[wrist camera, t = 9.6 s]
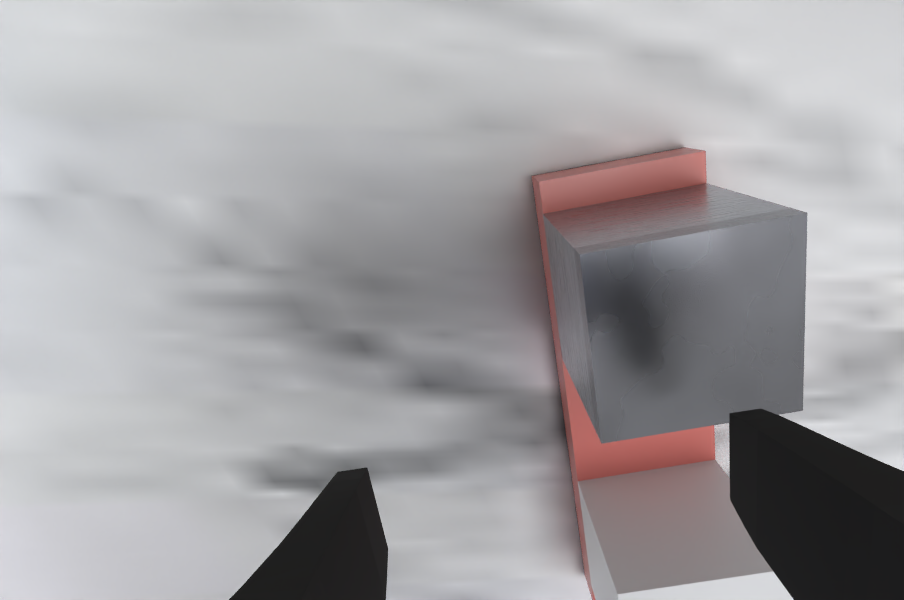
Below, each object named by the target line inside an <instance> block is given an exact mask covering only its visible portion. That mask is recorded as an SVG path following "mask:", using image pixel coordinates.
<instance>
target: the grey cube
mask: <svg viewBox="0 0 904 600" xmlns="http://www.w3.org/2000/svg"><path fill="white" fill-rule="evenodd" d="M543 220H544V228H545V235H546V242H547V250H548V257H549V265H550V272H551V279H552V287H553V294H554V302H555V309H556V317H557V324H558V331H559V339H560V346H561V354H562V360H563V362H564V364H565V366H566V368H567V370H568V373H569V375H570V377H571V379H572V381H573V383H574V386H575V388H576V390H577V392H578V394H579V396H580V398H581V401H582V403H583V405H584V407H585V409H586V411H587V414H588V416H589V418H590V420H591V422H592V424H593V427H594V429H595V431H596V433H597V435H598V437H599V440H600V442H601V444H603V443H609V442H615V441H621V440H627V439H633V438H639V437H645V436H651V435H658V434H664V433H670V432H676V431H682V430H688V429H694V428H700V427H706V426H712V425H718V424H724V423H729V413H734V412H741V411H747V410H754V409H760V408H761V409H764V410H767V411H769V412H772V413H774V414H777V415H779V414H785V413H791V412H797V411H803V377H804V333H805V289H806V245H807V213H806V212H803V211H799V210H796V209H793V208H789V207H786V206H782V205H779V204H775V203H772V202H768V201H765V200H762V199H758V198H755V197H751V196H748V195H744V194H741V193H737V192H734V191H731V190H727V189H724V188H720V187H717V186H713V185H710V184H707V183H705V184H700V185H694V186H689V187H684V188H678V189H673V190H668V191H662V192H657V193H652V194H646V195H641V196H636V197H630V198H625V199H620V200H614V201H609V202H604V203H598V204H593V205H588V206H582V207H577V208H572V209H566V210H561V211H556V212H550V213H545V214H543Z"/></svg>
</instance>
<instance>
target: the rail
mask: <svg viewBox="0 0 904 600" xmlns="http://www.w3.org/2000/svg"><path fill="white" fill-rule="evenodd" d="M532 181H533V189H534V196H535V204H536V211H537V219H538V226H539V234H540V241H541V249H542V256H543V264H544V272H545V279H546V287H547V294H548V302H549V309H550V317H551V324H552V332H553V339H554V347H555V354H556V362H557V369H558V377H559V384H560V392H561V399H562V407H563V414H564V422H565V429H566V437H567V444H568V452H569V459H570V467H571V474H572V482H573V489H574V497H575V504H576V512H577V520H578V527H579V535H580V542H581V550H582V557H583V565H584V572H585V577H586V580H587V584H588V587H589V590H590V594H591V597H592V600H794V599H793V598H792V597H791V595H790V594H789V593H788V591H787V590H786V588H785V587H784V586H783V584H782V583H781V581H780V580H779V579H778V577H777V576H776V575H775V573H774V572H773V570H772V569H771V568H770V566H769V565H768V563H767V562H766V561H765V559H764V558H763V556H762V555H761V553H760V552H759V551H758V549H757V548H756V546H755V544H754V543H753V541H752V539H751V537H750V536H749V534H748V532H747V530H746V529H745V527H744V525H743V523H742V521H741V519H740V518H739V516H738V514H737V512H736V510H735V508H734V506H733V504H732V503H731V501H730V478H729V477H728V476H727V474H726V473H725V472H724V471H723V469H722V468H721V467H720V465H719V464H718V463H717V461H716V460H715V438H714V425H712V426H706V427H700V428H694V429H688V430H682V431H676V432H670V433H664V434H658V435H651V436H645V437H639V438H633V439H627V440H621V441H615V442H609V443H603V444H601V442H600V440H599V437H598V435H597V433H596V431H595V429H594V427H593V424H592V422H591V420H590V418H589V416H588V414H587V411H586V409H585V407H584V405H583V403H582V401H581V398H580V396H579V394H578V392H577V390H576V388H575V386H574V383H573V381H572V379H571V377H570V375H569V373H568V370H567V368H566V366H565V364H564V362H563V360H562V354H561V346H560V339H559V331H558V324H557V317H556V309H555V302H554V294H553V287H552V279H551V272H550V265H549V257H548V250H547V242H546V235H545V228H544V220H543V214H545V213H550V212H556V211H561V210H566V209H572V208H577V207H582V206H588V205H593V204H598V203H604V202H609V201H614V200H620V199H625V198H630V197H636V196H641V195H646V194H652V193H657V192H662V191H668V190H673V189H678V188H684V187H689V186H694V185H700V184H705V183H706V152H705V151H703V150H697V149H691V148H680V149H674V150H669V151H664V152H658V153H653V154H647V155H642V156H637V157H631V158H626V159H621V160H615V161H610V162H604V163H599V164H594V165H588V166H583V167H578V168H572V169H567V170H561V171H556V172H551V173H545V174H540V175H535V176H532Z"/></svg>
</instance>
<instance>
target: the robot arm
mask: <svg viewBox="0 0 904 600" xmlns="http://www.w3.org/2000/svg"><path fill="white" fill-rule="evenodd" d="M729 435H730V501H731V503H732V504H733V506H734V508H735V510H736V512H737V514H738V516H739V518H740V519H741V521H742V523H743V525H744V527H745V529H746V530H747V532H748V534H749V536H750V537H751V539H752V541H753V543H754V544H755V546H756V548H757V549H758V551H759V552H760V553H761V555H762V556H763V558H764V559H765V561H766V562H767V563H768V565H769V566H770V568H771V569H772V570H773V572H774V573H775V575H776V576H777V577H778V579H779V580H780V581H781V583H782V584H783V586H784V587H785V588H786V590H787V591H788V593H789V594H790V595H791V597H792V598H793V599H794V600H904V471H901V470H899V469H897V468H894V467H892V466H890V465H887V464H885V463H883V462H880V461H878V460H876V459H874V458H871V457H869V456H867V455H864V454H862V453H860V452H858V451H856V450H853V449H851V448H849V447H847V446H845V445H842V444H840V443H838V442H836V441H834V440H832V439H829V438H827V437H825V436H823V435H821V434H819V433H816V432H814V431H812V430H810V429H808V428H806V427H803V426H801V425H799V424H797V423H795V422H792V421H790V420H788V419H786V418H784V417H781V416H779V415H777V414H774V413H772V412H769V411H767V410H764V409H761V408H760V409H754V410H747V411H741V412H734V413H729ZM387 562H388V547H387V543H386V539H385V535H384V531H383V527H382V523H381V520H380V516H379V512H378V508H377V504H376V500H375V496H374V492H373V488H372V484H371V481H370V477H369V473H368V469H367V468H361V469H355V470H348V471H341V472H337V473H336V475H335V476H334V477H333V478H332V479H331V481H330V482H329V483H328V485H327V486H326V487H325V488H324V490H323V491H322V492H321V493H320V495H319V496H318V497H317V498H316V500H315V501H314V502H313V504H312V505H311V506H310V507H309V509H308V510H307V511H306V512H305V514H304V515H303V516H302V518H301V519H300V520H299V521H298V522H297V524H296V525H295V526H294V527H293V529H292V530H291V531H290V532H289V534H288V535H287V536H286V537H285V538H284V540H283V541H282V542H281V543H280V544H279V546H278V547H277V548H276V549H275V550H274V551H273V552H272V553H271V555H270V556H269V557H268V558H267V559H266V560H265V561H264V562H263V564H262V565H261V566H260V567H259V568H258V569H257V570H256V571H255V572H254V574H253V575H252V576H251V577H250V578H249V579H248V580H247V581H246V583H245V584H244V585H243V586H242V587H241V588H240V589H239V590H238V591H237V592H236V593H235V594H234V595H233V596H232V597H231V598H230V599H229V600H386V585H387Z"/></svg>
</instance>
